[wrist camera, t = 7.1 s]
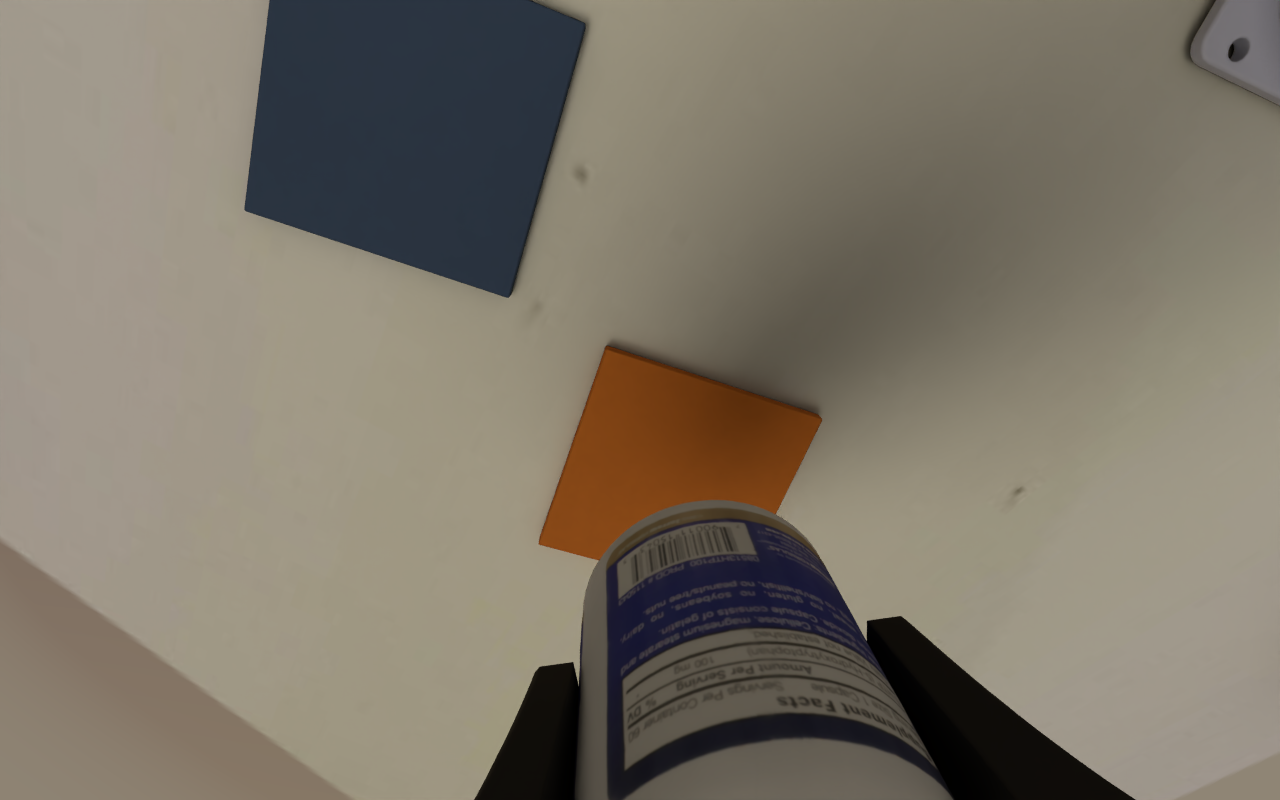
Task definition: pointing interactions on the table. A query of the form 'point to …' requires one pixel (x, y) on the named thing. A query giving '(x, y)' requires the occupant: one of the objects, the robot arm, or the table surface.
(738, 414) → the amber mat
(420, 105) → the blue mat
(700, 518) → the pill bottle
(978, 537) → the table surface
